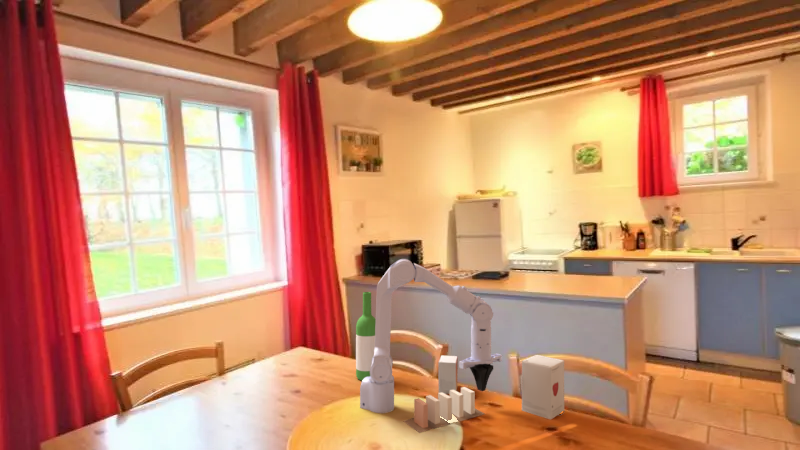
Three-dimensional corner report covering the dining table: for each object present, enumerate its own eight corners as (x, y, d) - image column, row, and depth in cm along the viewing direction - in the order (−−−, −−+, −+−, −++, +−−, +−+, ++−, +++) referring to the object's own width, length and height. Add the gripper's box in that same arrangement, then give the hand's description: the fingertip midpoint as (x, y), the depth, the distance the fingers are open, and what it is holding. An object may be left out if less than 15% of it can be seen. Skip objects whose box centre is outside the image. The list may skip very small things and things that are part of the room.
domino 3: (447, 420, 118) (447, 398, 118) (438, 414, 122) (438, 393, 122) (451, 419, 118) (451, 397, 118) (442, 413, 122) (442, 392, 122)
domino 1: (423, 428, 113) (423, 405, 113) (414, 421, 117) (414, 399, 117) (427, 427, 114) (427, 403, 114) (418, 420, 118) (418, 398, 118)
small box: (456, 397, 137) (456, 363, 137) (438, 395, 138) (438, 362, 138) (458, 387, 144) (457, 355, 145) (441, 386, 146) (441, 354, 146)
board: (419, 435, 111) (419, 432, 111) (402, 423, 118) (402, 420, 118) (485, 416, 122) (485, 413, 122) (466, 406, 129) (466, 404, 129)
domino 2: (435, 424, 116) (435, 401, 116) (426, 418, 119) (425, 396, 120) (439, 423, 116) (439, 400, 116) (430, 417, 120) (430, 395, 120)
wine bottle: (353, 376, 156) (352, 291, 156) (373, 373, 159) (373, 290, 160) (360, 383, 149) (360, 294, 149) (381, 379, 152) (381, 293, 152)
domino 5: (470, 414, 122) (470, 392, 122) (460, 408, 126) (460, 387, 126) (474, 413, 123) (474, 391, 123) (464, 407, 126) (464, 386, 126)
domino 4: (459, 417, 120) (459, 395, 120) (449, 411, 124) (449, 390, 124) (463, 416, 120) (463, 394, 121) (453, 410, 124) (453, 389, 124)
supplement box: (551, 422, 118) (551, 367, 118) (521, 413, 125) (520, 360, 125) (565, 412, 125) (565, 359, 125) (536, 403, 131) (535, 353, 131)
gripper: (470, 349, 120) (470, 399, 120) (509, 342, 127) (509, 389, 127) (454, 343, 126) (454, 391, 126) (492, 337, 133) (492, 382, 133)
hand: (481, 389), depth 127 cm, fingers closed
